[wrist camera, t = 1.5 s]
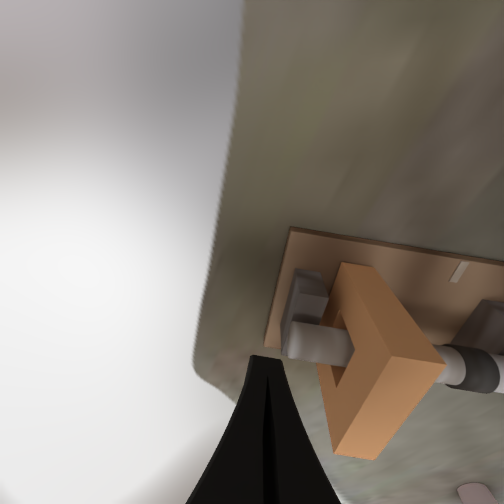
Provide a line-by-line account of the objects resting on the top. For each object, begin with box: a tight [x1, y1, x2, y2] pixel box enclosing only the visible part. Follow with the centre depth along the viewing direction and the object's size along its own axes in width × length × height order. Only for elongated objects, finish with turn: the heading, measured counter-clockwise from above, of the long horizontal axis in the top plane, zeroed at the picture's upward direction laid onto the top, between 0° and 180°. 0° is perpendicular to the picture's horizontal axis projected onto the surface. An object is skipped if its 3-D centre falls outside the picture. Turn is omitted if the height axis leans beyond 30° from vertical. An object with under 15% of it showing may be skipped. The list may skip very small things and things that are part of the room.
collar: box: [316, 262, 447, 460], centre depth 17 cm, size 2×9×9 cm, turn 171°
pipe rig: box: [264, 226, 504, 394], centre depth 18 cm, size 19×12×7 cm, turn 82°
